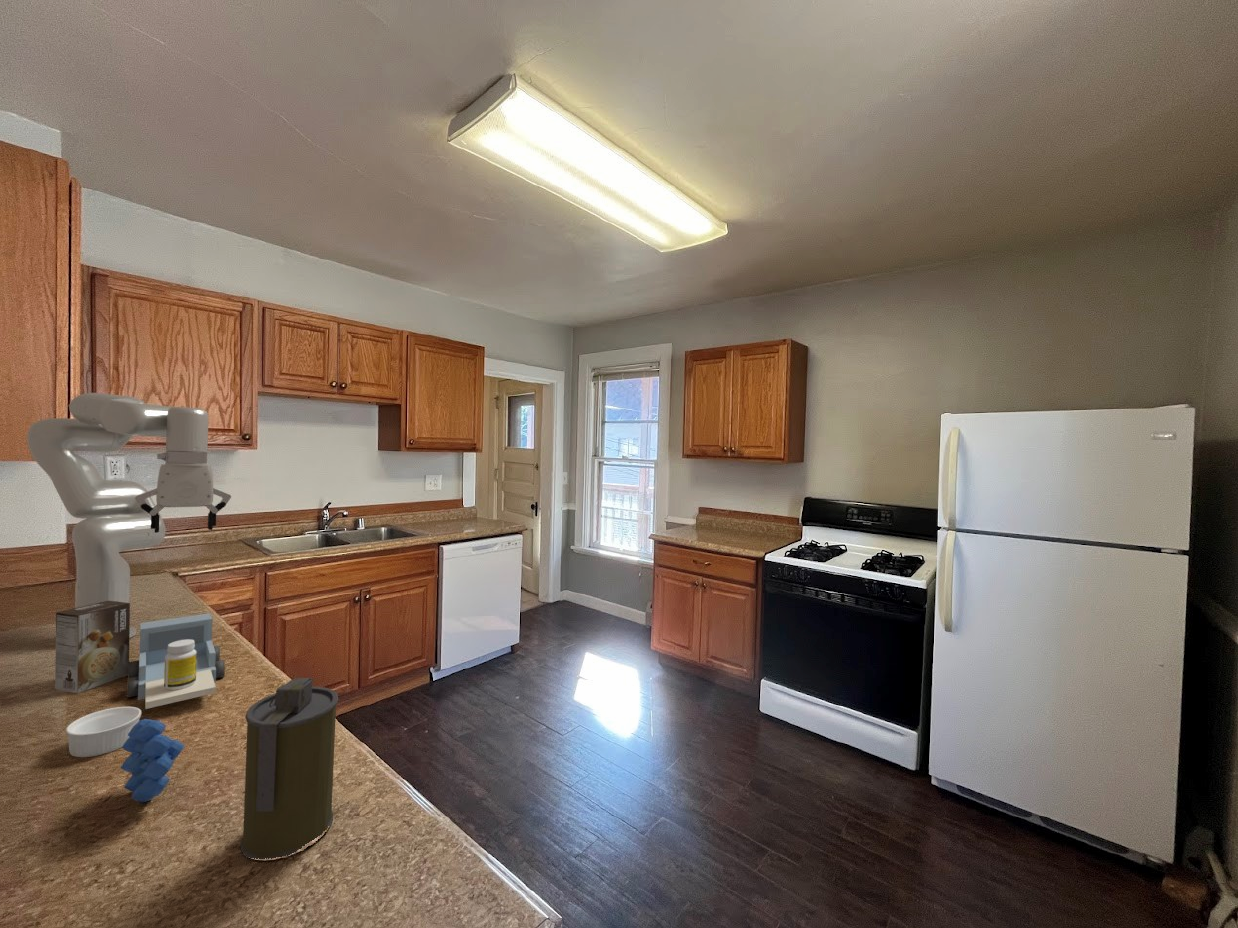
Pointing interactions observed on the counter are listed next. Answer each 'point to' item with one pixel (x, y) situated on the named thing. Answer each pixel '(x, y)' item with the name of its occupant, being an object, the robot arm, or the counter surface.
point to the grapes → (149, 759)
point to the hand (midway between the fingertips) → (184, 530)
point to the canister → (289, 769)
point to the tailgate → (162, 696)
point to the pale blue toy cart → (156, 646)
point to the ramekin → (101, 731)
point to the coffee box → (91, 645)
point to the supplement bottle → (180, 665)
